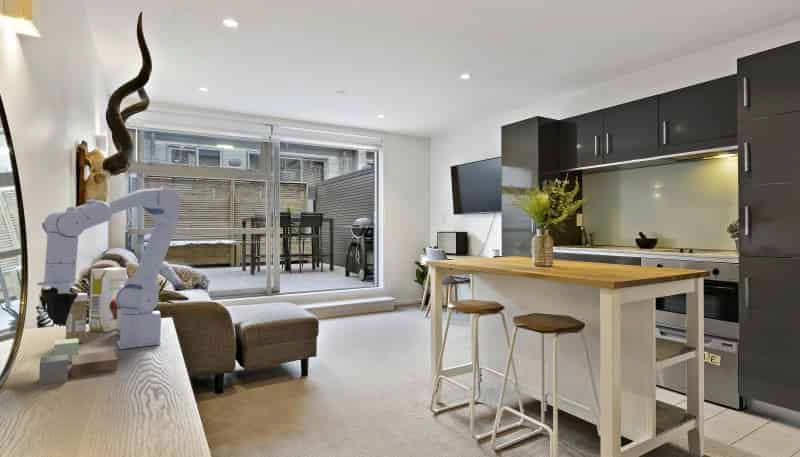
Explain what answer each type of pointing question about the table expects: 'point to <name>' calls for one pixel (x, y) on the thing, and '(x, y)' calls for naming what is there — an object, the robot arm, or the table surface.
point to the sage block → (66, 347)
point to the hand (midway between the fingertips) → (57, 321)
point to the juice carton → (105, 298)
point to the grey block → (53, 369)
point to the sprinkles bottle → (77, 319)
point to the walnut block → (93, 363)
